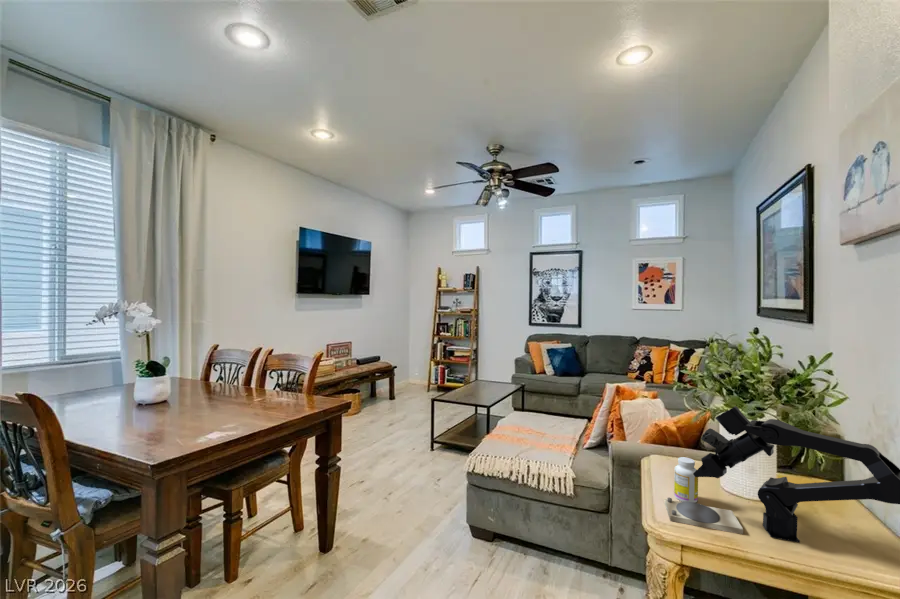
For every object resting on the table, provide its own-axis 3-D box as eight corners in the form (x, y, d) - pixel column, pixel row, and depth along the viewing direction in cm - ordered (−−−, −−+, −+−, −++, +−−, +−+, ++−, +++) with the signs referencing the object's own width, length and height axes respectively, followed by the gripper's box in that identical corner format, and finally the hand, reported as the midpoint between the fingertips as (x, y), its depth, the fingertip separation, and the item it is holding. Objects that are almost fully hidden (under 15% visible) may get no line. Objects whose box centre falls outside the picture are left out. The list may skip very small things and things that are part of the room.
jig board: (730, 514, 121) (731, 506, 121) (743, 535, 110) (743, 526, 110) (664, 503, 127) (664, 495, 127) (670, 521, 117) (670, 513, 117)
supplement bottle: (691, 494, 133) (692, 456, 132) (701, 504, 126) (702, 464, 126) (670, 493, 133) (671, 455, 133) (679, 503, 127) (680, 463, 126)
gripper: (730, 417, 128) (691, 441, 137) (710, 430, 116) (669, 455, 125) (759, 449, 122) (717, 472, 131) (742, 466, 110) (696, 489, 119)
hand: (699, 471), depth 127 cm, fingers open, 9 cm apart
